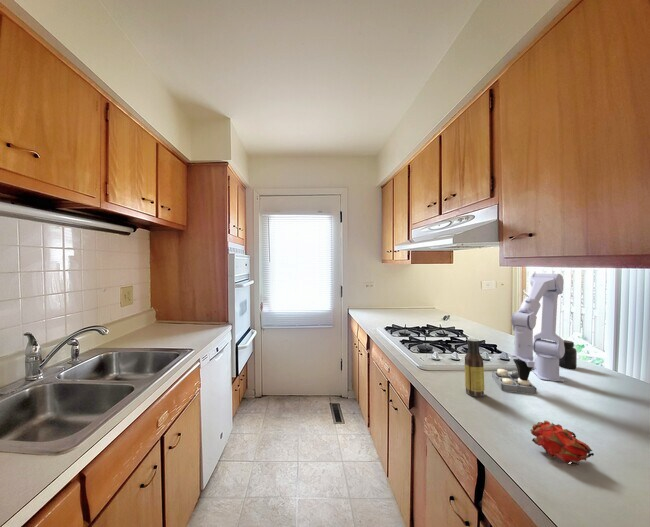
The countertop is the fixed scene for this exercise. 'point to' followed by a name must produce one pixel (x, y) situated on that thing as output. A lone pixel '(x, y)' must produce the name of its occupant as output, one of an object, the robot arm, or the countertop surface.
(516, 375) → the button back left charcoal
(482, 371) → the sauce bottle
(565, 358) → the supplement bottle
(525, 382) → the button front left
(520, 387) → the button board
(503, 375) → the button back right
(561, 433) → the dragon fruit
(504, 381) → the button front right
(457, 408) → the countertop surface
